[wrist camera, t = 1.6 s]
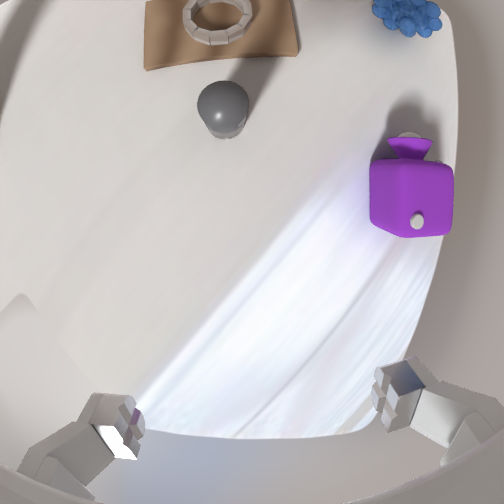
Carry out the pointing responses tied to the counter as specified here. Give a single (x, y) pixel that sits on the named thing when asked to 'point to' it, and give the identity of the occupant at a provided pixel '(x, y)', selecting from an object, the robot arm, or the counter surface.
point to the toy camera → (411, 190)
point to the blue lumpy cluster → (409, 16)
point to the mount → (216, 31)
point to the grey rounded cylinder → (223, 108)
